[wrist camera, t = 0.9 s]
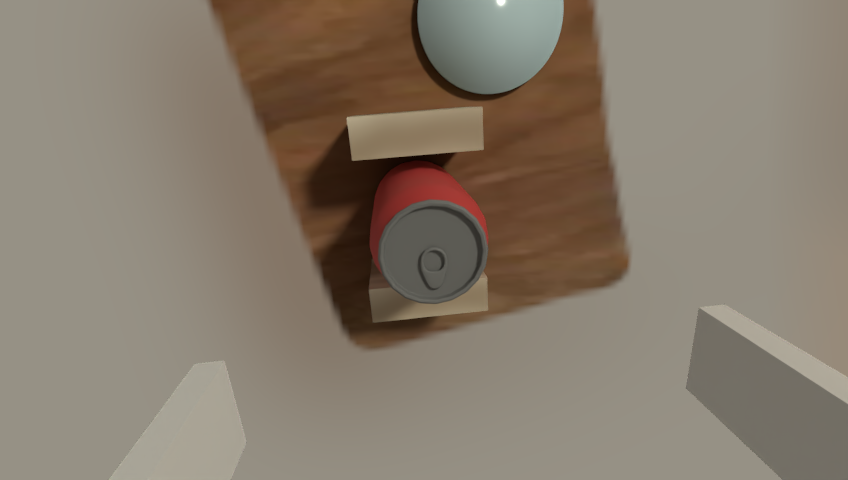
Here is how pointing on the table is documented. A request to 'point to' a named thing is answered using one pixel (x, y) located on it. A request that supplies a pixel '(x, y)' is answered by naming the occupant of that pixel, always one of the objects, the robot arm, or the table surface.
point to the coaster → (489, 40)
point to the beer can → (427, 234)
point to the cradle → (414, 138)
